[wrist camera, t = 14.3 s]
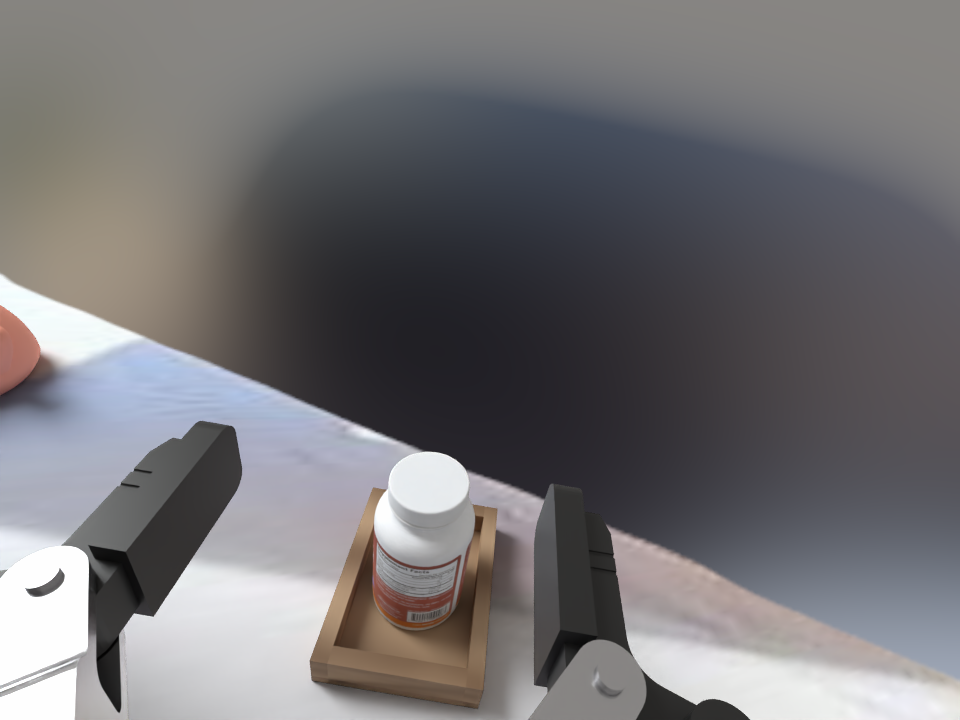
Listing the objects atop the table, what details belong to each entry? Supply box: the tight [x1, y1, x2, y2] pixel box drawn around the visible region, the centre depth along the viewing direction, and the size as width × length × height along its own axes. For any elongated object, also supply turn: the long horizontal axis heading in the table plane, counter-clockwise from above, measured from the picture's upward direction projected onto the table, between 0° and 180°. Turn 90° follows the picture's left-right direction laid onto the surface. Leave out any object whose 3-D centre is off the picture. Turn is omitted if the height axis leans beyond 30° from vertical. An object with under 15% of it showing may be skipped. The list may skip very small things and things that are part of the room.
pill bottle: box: [373, 452, 475, 631], centre depth 31 cm, size 6×6×11 cm
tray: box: [310, 488, 497, 709], centre depth 34 cm, size 13×10×2 cm
